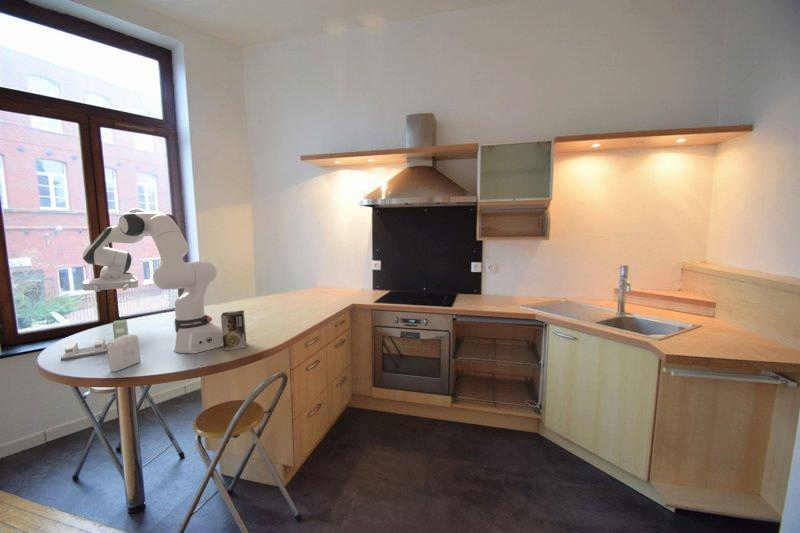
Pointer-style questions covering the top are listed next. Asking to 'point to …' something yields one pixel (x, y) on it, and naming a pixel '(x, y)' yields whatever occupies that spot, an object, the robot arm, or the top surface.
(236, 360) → the top surface
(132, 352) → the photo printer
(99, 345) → the rail board
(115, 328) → the loose module
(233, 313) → the coffee box
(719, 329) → the top surface
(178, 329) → the robot arm
